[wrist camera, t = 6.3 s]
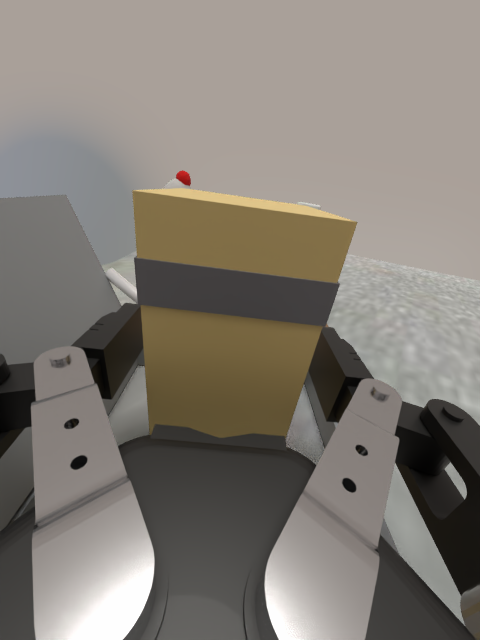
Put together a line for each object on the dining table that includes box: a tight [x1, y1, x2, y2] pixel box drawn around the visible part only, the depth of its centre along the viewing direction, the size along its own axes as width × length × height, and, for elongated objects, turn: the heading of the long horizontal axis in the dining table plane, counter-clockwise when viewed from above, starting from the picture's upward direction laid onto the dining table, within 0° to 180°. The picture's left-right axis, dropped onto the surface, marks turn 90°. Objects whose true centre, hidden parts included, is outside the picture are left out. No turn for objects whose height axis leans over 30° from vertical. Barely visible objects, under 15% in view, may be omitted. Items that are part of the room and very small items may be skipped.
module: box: [133, 188, 357, 438], centre depth 10 cm, size 5×5×13 cm
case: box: [0, 195, 399, 554], centre depth 11 cm, size 18×16×12 cm
